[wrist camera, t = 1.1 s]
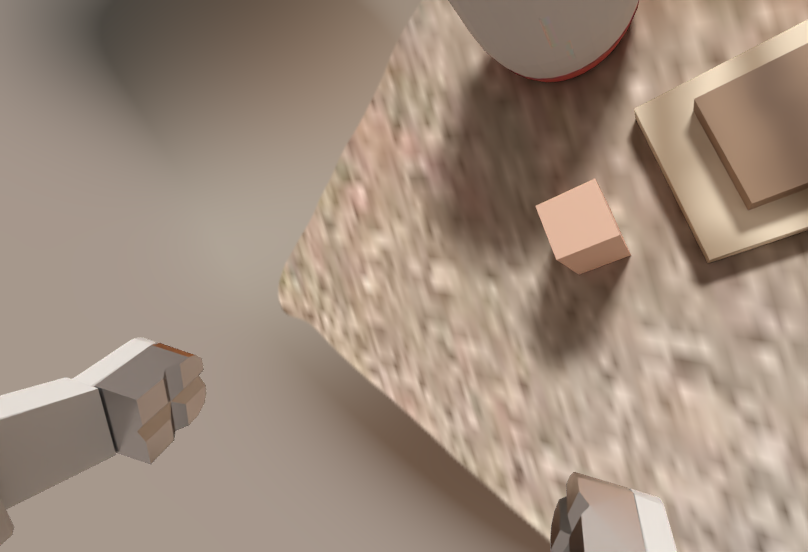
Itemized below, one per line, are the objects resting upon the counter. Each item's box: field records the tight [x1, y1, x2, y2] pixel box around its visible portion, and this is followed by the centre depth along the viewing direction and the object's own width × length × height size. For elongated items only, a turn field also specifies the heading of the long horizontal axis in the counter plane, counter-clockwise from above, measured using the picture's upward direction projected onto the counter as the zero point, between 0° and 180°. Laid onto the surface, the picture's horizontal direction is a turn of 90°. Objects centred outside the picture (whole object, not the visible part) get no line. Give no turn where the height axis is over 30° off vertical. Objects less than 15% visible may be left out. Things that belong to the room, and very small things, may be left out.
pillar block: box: [536, 179, 631, 274], centre depth 35 cm, size 4×4×9 cm
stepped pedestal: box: [634, 20, 808, 263], centre depth 31 cm, size 16×14×4 cm
